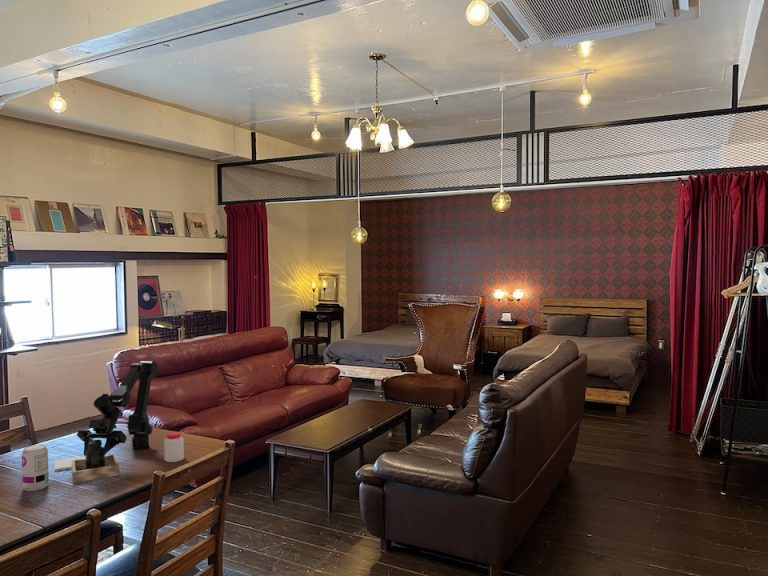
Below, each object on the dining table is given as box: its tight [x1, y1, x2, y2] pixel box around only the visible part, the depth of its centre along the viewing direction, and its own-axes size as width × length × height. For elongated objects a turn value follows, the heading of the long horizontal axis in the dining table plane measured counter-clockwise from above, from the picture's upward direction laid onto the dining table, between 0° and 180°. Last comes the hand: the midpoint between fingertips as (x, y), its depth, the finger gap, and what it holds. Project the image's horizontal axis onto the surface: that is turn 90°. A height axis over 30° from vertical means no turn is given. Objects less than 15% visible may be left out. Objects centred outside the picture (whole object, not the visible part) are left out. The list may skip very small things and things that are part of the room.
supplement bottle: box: [85, 439, 106, 470], centre depth 225 cm, size 7×7×12 cm
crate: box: [71, 453, 121, 484], centre depth 225 cm, size 16×16×4 cm
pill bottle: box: [163, 431, 185, 463], centre depth 241 cm, size 8×8×11 cm
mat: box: [54, 455, 86, 472], centre depth 235 cm, size 12×12×1 cm
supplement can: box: [21, 444, 50, 492], centre depth 210 cm, size 8×8×15 cm
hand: (92, 455), depth 224 cm, fingers closed on supplement bottle, 7 cm apart
